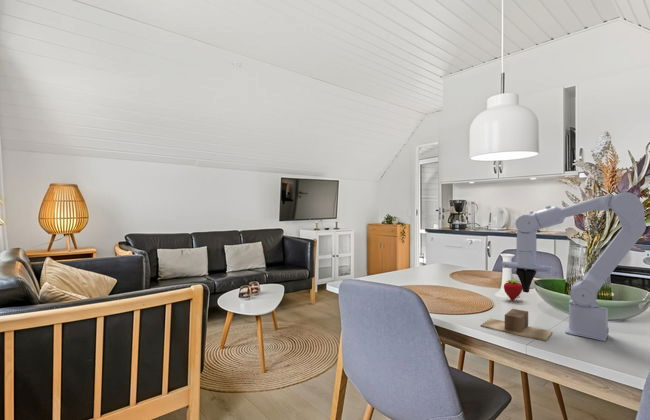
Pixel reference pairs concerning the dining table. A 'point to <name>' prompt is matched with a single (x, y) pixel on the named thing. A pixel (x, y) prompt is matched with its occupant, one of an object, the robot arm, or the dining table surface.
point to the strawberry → (513, 289)
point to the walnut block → (516, 320)
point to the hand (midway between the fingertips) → (526, 291)
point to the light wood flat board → (527, 332)
